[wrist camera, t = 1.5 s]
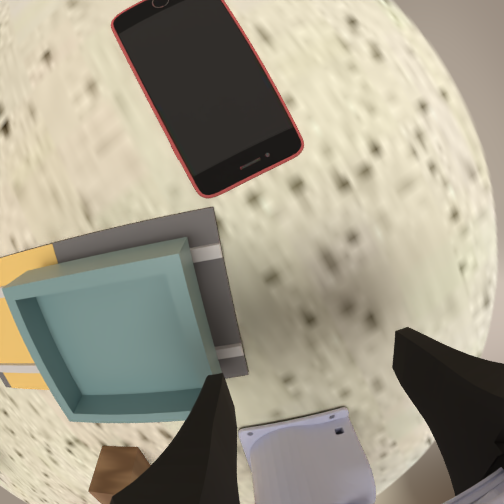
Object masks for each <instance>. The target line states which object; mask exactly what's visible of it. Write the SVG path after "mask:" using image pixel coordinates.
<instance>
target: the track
mask: <svg viewBox="0 0 504 504" xmlns="http://www.w3.org/2000/svg"><path fill="white" fill-rule="evenodd" d="M183 237H187V239H188V243H189V247H190V252H191V256H192V260H193V265H194V269H195V273H196V277H197V281H198V285H199V289H200V293H201V297H202V301H203V305H204V309H205V313H206V317H207V321H208V324H209V328H210V332H211V336H212V339H213V343H214V346H215V350H216V354H217V357H218V361H219V364H220V368H221V371H222V373H223V374H224V377H225V378H232V377H238V376H244V375H249V374H248V369H247V365H246V360H245V356H244V352H243V347H242V343H241V338H240V334H239V329H238V325H237V320H236V316H235V311H234V306H233V302H232V297H231V292H230V288H229V283H228V278H227V273H226V269H225V264H224V259H223V254H222V249H221V244H220V239H219V234H218V229H217V224H216V219H215V214H214V209H213V207H209V208H204V209H198V210H193V211H188V212H183V213H179V214H174V215H169V216H164V217H159V218H155V219H150V220H146V221H141V222H137V223H132V224H128V225H123V226H119V227H115V228H110V229H106V230H102V231H98V232H94V233H90V234H86V235H82V236H78V237H74V238H70V239H66V240H62V241H58V242H54V243H51V244H47V245H43V246H39V247H36V248H32V249H29V250H25V251H21V252H18V253H14V254H11V255H8V256H4V257H1V258H0V378H1V379H2V381H3V383H4V384H5V386H6V387H12V388H23V389H42V390H50V389H49V388H48V386H47V384H46V383H45V381H44V379H43V377H42V376H41V374H40V372H39V370H38V368H37V367H36V365H35V363H34V361H33V359H32V357H31V355H30V353H29V351H28V349H27V347H26V345H25V343H24V341H23V339H22V337H21V335H20V332H19V330H18V328H17V326H16V323H15V321H14V319H13V316H12V314H11V312H10V309H9V307H8V304H7V302H6V299H5V297H4V294H3V291H2V288H3V287H5V286H6V285H7V284H9V283H10V282H12V281H13V280H15V279H16V278H17V277H19V276H20V275H22V274H23V273H25V272H26V271H28V270H33V269H37V268H41V267H46V266H50V265H54V264H59V263H63V262H68V261H72V260H77V259H81V258H86V257H91V256H95V255H100V254H104V253H109V252H114V251H119V250H123V249H128V248H133V247H138V246H143V245H148V244H153V243H158V242H163V241H168V240H173V239H178V238H183Z"/></svg>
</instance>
